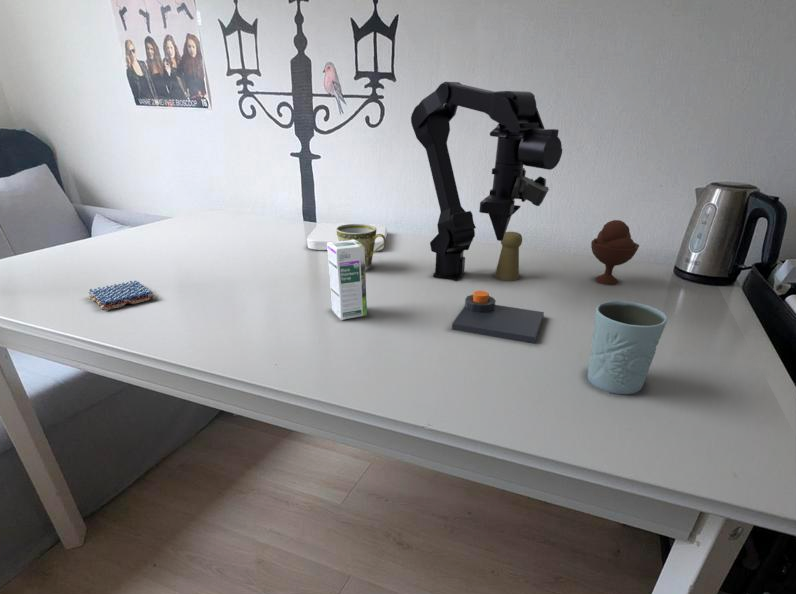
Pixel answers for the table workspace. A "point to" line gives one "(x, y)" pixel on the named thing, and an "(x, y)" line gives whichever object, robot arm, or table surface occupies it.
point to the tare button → (480, 296)
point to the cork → (509, 257)
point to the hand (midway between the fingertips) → (499, 240)
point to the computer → (329, 234)
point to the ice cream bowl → (613, 248)
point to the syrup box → (347, 278)
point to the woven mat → (120, 295)
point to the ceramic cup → (361, 238)
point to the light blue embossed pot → (624, 345)
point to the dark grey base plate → (498, 321)
